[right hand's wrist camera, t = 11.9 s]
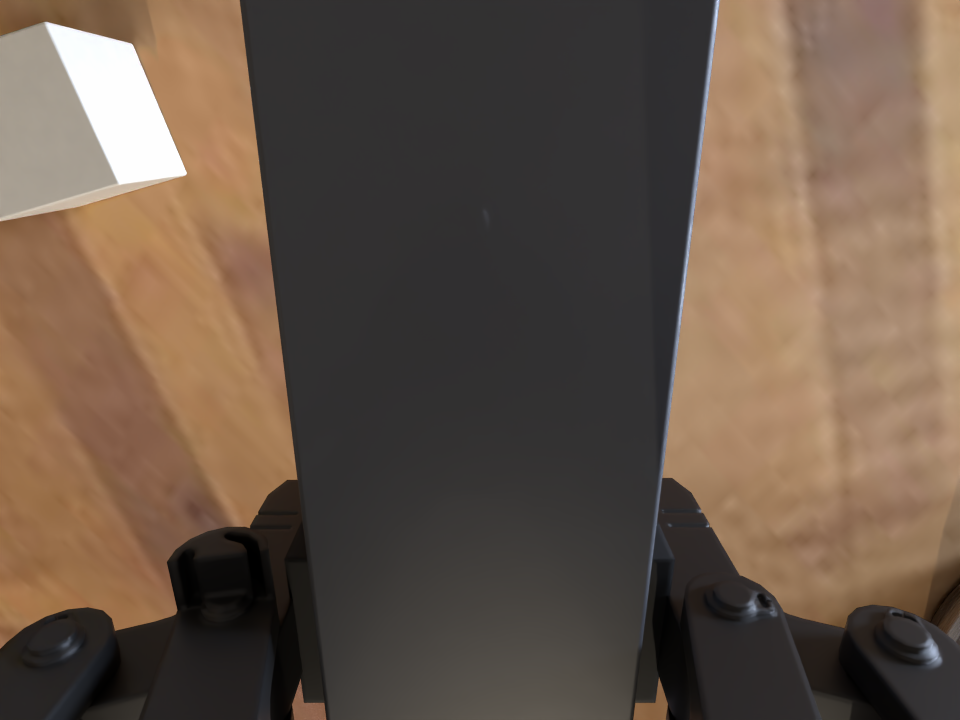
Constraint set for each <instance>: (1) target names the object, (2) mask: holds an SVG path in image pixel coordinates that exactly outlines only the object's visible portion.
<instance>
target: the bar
mask: <svg viewBox="0 0 960 720" xmlns="http://www.w3.org/2000/svg"><path fill="white" fill-rule="evenodd" d="M719 2H720V0H240V6H241V14H242V23H243V31H244V39H245V47H246V56H247V64H248V72H249V81H250V89H251V97H252V106H253V114H254V122H255V130H256V139H257V147H258V155H259V164H260V172H261V180H262V189H263V197H264V205H265V213H266V222H267V230H268V238H269V247H270V255H271V263H272V271H273V280H274V288H275V296H276V305H277V313H278V321H279V330H280V338H281V346H282V354H283V363H284V371H285V379H286V388H287V396H288V404H289V413H290V421H291V429H292V437H293V446H294V454H295V462H296V471H297V479H298V487H299V496H300V504H301V512H302V520H303V529H304V537H305V545H306V554H307V562H308V570H309V578H310V587H311V595H312V603H313V612H314V620H315V628H316V637H317V645H318V653H319V661H320V670H321V678H322V686H323V695H324V703H325V711H326V720H633V716H634V708H635V700H636V691H637V683H638V675H639V666H640V658H641V650H642V642H643V633H644V625H645V617H646V608H647V600H648V592H649V583H650V575H651V567H652V559H653V550H654V542H655V534H656V525H657V517H658V509H659V500H660V492H661V484H662V475H663V467H664V459H665V451H666V442H667V434H668V426H669V417H670V409H671V401H672V392H673V384H674V376H675V368H676V359H677V351H678V343H679V334H680V326H681V318H682V309H683V301H684V293H685V285H686V276H687V268H688V260H689V251H690V243H691V235H692V226H693V218H694V210H695V201H696V193H697V185H698V177H699V168H700V160H701V152H702V143H703V135H704V127H705V118H706V110H707V102H708V94H709V85H710V77H711V69H712V60H713V52H714V44H715V35H716V27H717V19H718V11H719Z"/></svg>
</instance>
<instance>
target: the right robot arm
mask: <svg viewBox="0 0 960 720" xmlns="http://www.w3.org/2000/svg"><path fill="white" fill-rule="evenodd" d="M167 565H168V569H169V574H170V578H171V583H172V587H173V592H174V596H175V601H176V605H177V610H178V611H177V613H176V615H174V616H172V617H169V618H165V619H162V620H159V621H155V622H151V623H147V624H143V625H138V626H134V627H130V628H125V629H121V630H117V631H115V629H114V625H113V622H112V618H110V617H109V616H108V615H107V614H106V613H105V612H104V611H103V610H98V609H93V608H88V607H87V608H78V609H68V610H65V611H62V612H59V613H56V614H53V615H50V616H46V617H44V618H43V619H41V620H39V621H37V622H35V623H33V624H31V625H29V626H28V627H26V628H24V629H23V630H22V631H20V632H19V633H18V634H17V635H15V636H14V637H13V638H12V639H10V640H9V641H8V642H7V643H6V644H5V645H4V646H3V647H2V648H1V649H0V720H294V715H293V709H292V703H293V700H294V697H295V694H296V691H297V688H298V685H299V682H300V678H301V684H302V691H303V699H304V703H324V695H323V686H322V678H321V670H320V661H319V653H318V645H317V637H316V628H315V620H314V612H313V603H312V595H311V587H310V578H309V570H308V562H307V554H306V545H305V537H304V529H303V520H302V512H301V504H300V496H299V487H298V480H287V481H285V482H284V483H283V484H282V485H280V486H279V487H278V488H276V489H275V490H274V491H272V492H271V493H270V494H269V495H268V496H267V498H266V500H265V501H264V503H263V505H262V506H261V508H260V510H259V512H258V515H256V517H255V518H254V520H253V522H252V524H251V525H250V528H247V527H225V528H221V529H216V530H211V531H208V532H205V533H203V534H201V535H199V536H196V537H194V538H192V539H190V540H188V541H187V542H186V543H184V544H183V545H182V546H180V547H179V548H178V549H176V550H175V552H174V553H173V554H172V556H171V557H170V558H169V560H168V561H167ZM659 678H660V681H661V684H662V687H663V690H664V693H665V696H666V699H667V702H668V709H667V715H666V720H960V584H959V585H958V586H957V587H956V588H955V589H954V590H953V591H952V592H951V593H950V594H949V596H948V597H947V598H946V600H945V601H944V602H943V603H942V605H941V606H940V608H939V609H938V611H937V612H936V614H935V615H934V617H933V619H932V621H931V623H930V622H928V621H926V620H924V619H922V618H921V617H919V616H917V615H915V614H912V613H909V612H906V611H903V610H900V609H897V608H894V607H888V606H878V605H869V606H864V607H859V608H856V609H855V610H854V611H853V612H852V613H851V614H850V615H849V616H848V619H847V622H846V626H845V628H841V627H836V626H832V625H828V624H823V623H819V622H815V621H810V620H806V619H802V618H799V617H796V616H792V615H789V614H787V613H784V612H783V610H782V608H781V606H780V605H779V603H778V602H777V600H776V598H775V597H774V596H773V595H772V594H771V593H769V592H768V591H767V590H766V589H765V588H763V587H762V586H761V585H759V584H757V583H755V582H753V581H751V580H749V579H747V578H745V577H743V576H740V575H739V574H738V572H737V570H736V568H735V567H734V565H733V563H732V562H731V560H730V558H729V556H728V555H727V553H726V551H725V550H724V548H723V546H722V545H721V543H720V541H719V539H718V538H717V536H716V534H715V533H714V531H713V529H712V527H710V526H709V522H708V521H707V519H706V517H705V515H704V514H703V513H701V509H700V507H699V505H698V504H697V502H696V500H695V498H694V497H693V495H692V493H691V492H690V491H688V490H687V489H686V488H684V487H683V486H682V485H680V484H679V483H678V482H676V481H675V480H674V479H673V478H662V484H661V492H660V500H659V509H658V517H657V525H656V534H655V542H654V550H653V559H652V567H651V575H650V583H649V592H648V600H647V608H646V617H645V625H644V633H643V642H642V650H641V658H640V666H639V675H638V683H637V691H636V700H635V703H655V701H656V694H657V687H658V679H659Z"/></svg>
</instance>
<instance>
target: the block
mask: <svg viewBox="0 0 960 720" xmlns="http://www.w3.org/2000/svg"><path fill="white" fill-rule="evenodd" d="M185 175H186V171H185V168H184V166H183V163H182V161H181V159H180V156H179V154H178V152H177V149H176V147H175V144H174V142H173V140H172V137H171V135H170V132H169V130H168V128H167V125H166V123H165V121H164V118H163V116H162V113H161V111H160V109H159V106H158V104H157V101H156V99H155V97H154V94H153V92H152V90H151V87H150V85H149V82H148V80H147V78H146V75H145V73H144V70H143V68H142V66H141V63H140V61H139V59H138V56H137V54H136V51H135V49H134V47H133V45H132V44H131V43H128V42H124V41H120V40H116V39H112V38H108V37H104V36H100V35H96V34H92V33H88V32H84V31H80V30H76V29H73V28H69V27H65V26H61V25H57V24H53V23H49V22H42V23H39V24H36V25H33V26H29V27H26V28H23V29H20V30H17V31H14V32H11V33H8V34H5V35H2V36H0V221H4V220H10V219H15V218H20V217H26V216H31V215H37V214H42V213H47V212H53V211H58V210H63V209H69V208H74V207H79V206H83V205H86V204H89V203H93V202H96V201H100V200H103V199H106V198H110V197H113V196H117V195H120V194H124V193H127V192H130V191H134V190H137V189H141V188H144V187H147V186H151V185H154V184H158V183H161V182H165V181H168V180H171V179H175V178H178V177H182V176H185Z"/></svg>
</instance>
